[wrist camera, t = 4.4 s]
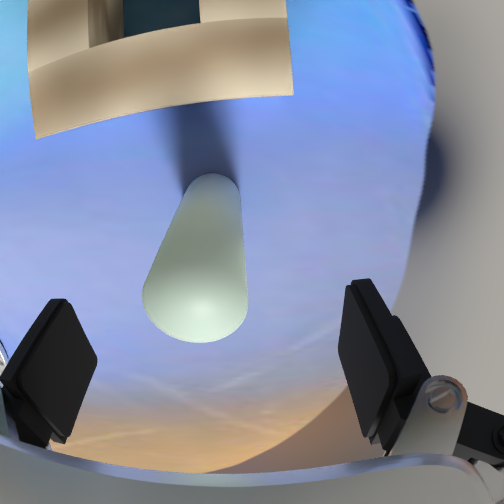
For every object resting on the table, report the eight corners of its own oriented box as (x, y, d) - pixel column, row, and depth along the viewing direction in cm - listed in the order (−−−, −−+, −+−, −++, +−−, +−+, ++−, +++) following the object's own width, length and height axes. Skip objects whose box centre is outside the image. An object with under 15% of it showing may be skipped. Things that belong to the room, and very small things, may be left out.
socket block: (277, 96, 19) (293, 94, 13) (81, 126, 19) (36, 139, 13) (261, -71, 12) (269, -113, 7) (74, -34, 12) (35, -57, 7)
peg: (242, 223, 23) (252, 339, 12) (189, 228, 23) (156, 344, 12) (238, 170, 21) (243, 251, 10) (180, 176, 21) (130, 261, 10)
